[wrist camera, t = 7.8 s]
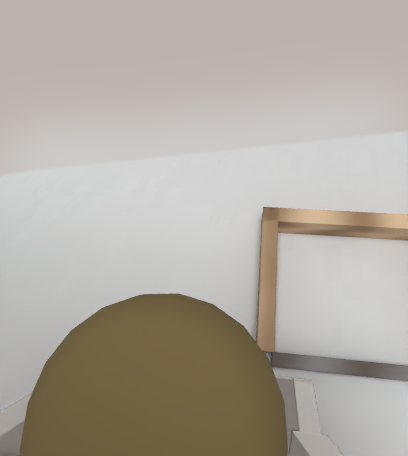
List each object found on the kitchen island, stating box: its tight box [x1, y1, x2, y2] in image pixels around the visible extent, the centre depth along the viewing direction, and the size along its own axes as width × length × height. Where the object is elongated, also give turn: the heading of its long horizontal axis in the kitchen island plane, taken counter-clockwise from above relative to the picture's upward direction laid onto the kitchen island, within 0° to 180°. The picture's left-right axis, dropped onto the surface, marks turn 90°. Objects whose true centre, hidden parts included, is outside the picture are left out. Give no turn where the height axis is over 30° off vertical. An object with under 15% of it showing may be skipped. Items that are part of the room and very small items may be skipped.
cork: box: [19, 294, 288, 456], centre depth 11 cm, size 6×6×11 cm
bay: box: [256, 207, 408, 381], centre depth 27 cm, size 14×12×2 cm
